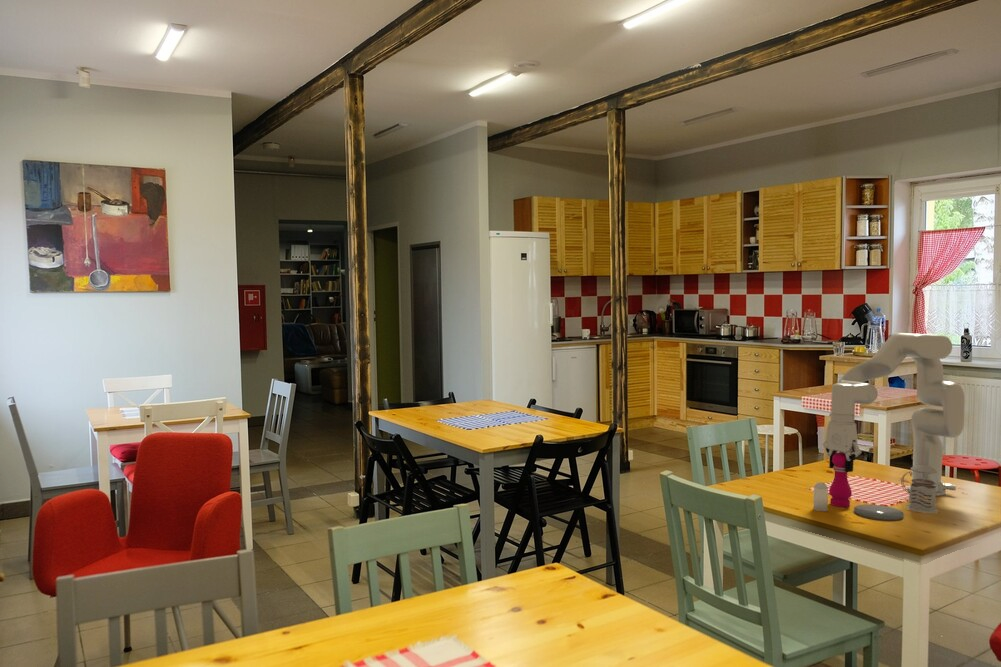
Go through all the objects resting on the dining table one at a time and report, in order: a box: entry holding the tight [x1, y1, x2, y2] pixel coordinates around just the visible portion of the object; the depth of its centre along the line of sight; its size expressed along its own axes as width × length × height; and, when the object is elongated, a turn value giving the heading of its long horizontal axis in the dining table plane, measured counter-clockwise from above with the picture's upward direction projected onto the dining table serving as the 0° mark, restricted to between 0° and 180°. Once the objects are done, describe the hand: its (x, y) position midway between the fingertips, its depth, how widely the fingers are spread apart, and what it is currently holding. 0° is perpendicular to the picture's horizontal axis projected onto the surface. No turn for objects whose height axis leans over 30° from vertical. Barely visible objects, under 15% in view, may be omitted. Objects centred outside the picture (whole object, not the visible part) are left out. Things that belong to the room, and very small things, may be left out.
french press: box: [901, 437, 939, 514], centre depth 265 cm, size 10×12×25 cm
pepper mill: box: [828, 451, 853, 508], centre depth 269 cm, size 7×7×20 cm
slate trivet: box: [853, 504, 905, 522], centre depth 258 cm, size 15×15×1 cm
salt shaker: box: [813, 481, 829, 512], centre depth 263 cm, size 4×4×10 cm
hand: (841, 469), depth 269 cm, fingers closed on pepper mill, 6 cm apart
